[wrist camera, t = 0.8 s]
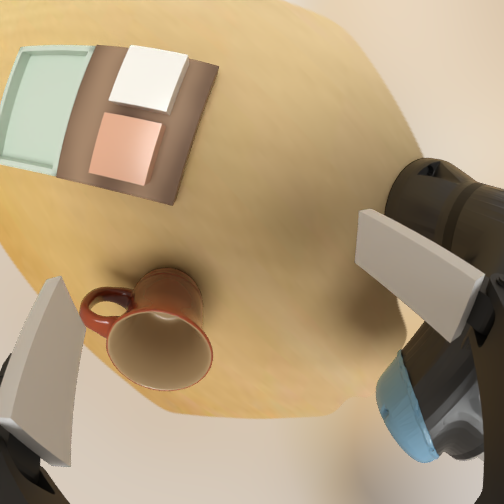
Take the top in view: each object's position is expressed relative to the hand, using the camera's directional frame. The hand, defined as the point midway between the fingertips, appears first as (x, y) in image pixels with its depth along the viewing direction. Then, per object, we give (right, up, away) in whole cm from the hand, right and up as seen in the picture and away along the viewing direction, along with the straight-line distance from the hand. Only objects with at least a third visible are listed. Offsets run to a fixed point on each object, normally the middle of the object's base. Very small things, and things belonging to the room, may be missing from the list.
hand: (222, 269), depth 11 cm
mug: (-9, -3, +18) cm, 21 cm away
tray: (-21, +16, +9) cm, 27 cm away
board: (-10, +13, +12) cm, 20 cm away
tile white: (-7, +15, +8) cm, 19 cm away
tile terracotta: (-9, +10, +10) cm, 17 cm away
